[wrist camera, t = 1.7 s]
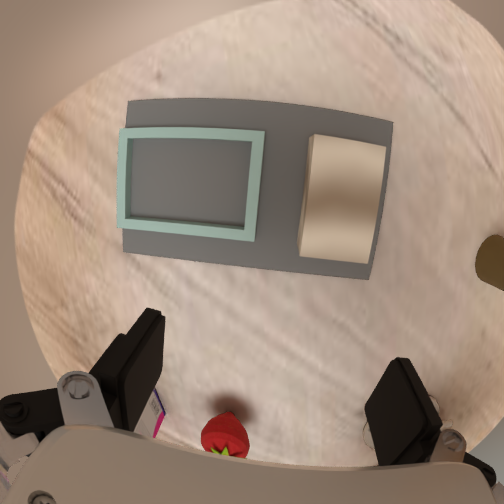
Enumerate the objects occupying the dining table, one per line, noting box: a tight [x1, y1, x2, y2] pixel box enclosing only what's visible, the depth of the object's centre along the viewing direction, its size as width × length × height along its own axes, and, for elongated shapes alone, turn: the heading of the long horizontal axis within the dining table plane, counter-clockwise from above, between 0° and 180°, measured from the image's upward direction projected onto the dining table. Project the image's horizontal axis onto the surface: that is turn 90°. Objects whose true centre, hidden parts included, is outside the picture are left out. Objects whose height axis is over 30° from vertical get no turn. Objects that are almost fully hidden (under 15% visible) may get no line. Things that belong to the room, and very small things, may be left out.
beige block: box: [297, 134, 386, 264], centre depth 25 cm, size 10×6×4 cm, turn 175°
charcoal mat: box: [122, 98, 393, 280], centre depth 27 cm, size 26×16×1 cm, turn 85°
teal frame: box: [117, 127, 265, 242], centre depth 27 cm, size 14×10×1 cm
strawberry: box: [201, 412, 250, 459], centre depth 32 cm, size 6×8×10 cm
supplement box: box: [134, 388, 165, 438], centre depth 32 cm, size 6×6×12 cm
